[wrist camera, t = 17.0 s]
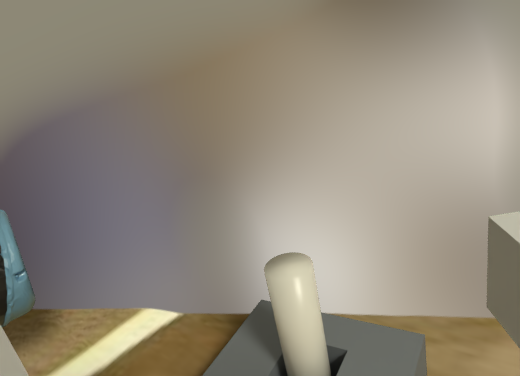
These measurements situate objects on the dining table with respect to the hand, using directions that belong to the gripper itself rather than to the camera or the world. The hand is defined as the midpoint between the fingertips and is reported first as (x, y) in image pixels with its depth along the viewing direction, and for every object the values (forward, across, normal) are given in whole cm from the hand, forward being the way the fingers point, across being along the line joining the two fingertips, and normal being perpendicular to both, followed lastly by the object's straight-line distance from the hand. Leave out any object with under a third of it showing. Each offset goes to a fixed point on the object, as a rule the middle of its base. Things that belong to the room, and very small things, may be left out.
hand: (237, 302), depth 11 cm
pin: (+20, 0, -27) cm, 33 cm away
